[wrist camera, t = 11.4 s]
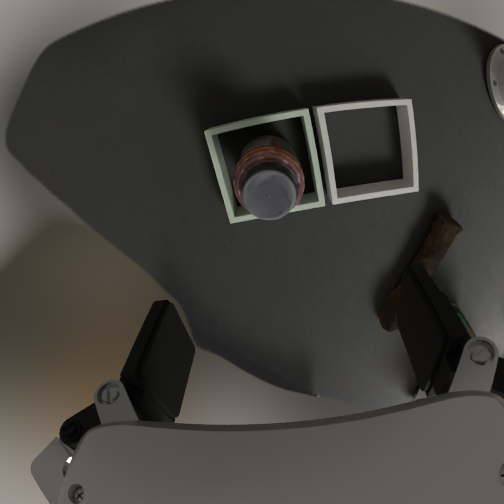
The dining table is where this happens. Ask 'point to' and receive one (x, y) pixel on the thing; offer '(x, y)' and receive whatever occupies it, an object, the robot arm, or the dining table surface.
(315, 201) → the sage bin
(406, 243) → the dining table surface
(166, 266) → the dining table surface
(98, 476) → the robot arm
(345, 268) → the dining table surface
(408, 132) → the grey bin
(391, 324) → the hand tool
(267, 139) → the supplement bottle
